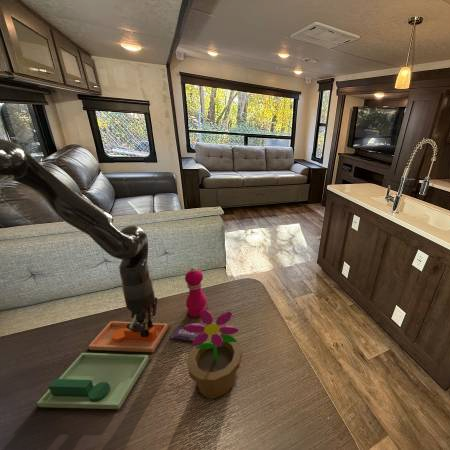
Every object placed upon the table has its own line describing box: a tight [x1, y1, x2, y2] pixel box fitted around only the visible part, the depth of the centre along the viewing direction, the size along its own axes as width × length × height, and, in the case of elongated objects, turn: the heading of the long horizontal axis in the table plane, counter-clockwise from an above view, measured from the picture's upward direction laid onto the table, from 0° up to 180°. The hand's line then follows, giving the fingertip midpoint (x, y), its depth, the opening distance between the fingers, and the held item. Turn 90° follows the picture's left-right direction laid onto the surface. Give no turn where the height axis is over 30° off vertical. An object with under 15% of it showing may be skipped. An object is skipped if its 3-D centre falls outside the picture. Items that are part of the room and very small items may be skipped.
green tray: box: [36, 352, 150, 410], centre depth 68 cm, size 19×14×2 cm
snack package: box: [170, 326, 205, 342], centre depth 84 cm, size 12×2×5 cm
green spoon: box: [48, 378, 110, 402], centre depth 64 cm, size 13×4×4 cm, turn 92°
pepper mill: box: [184, 266, 207, 318], centre depth 92 cm, size 7×7×20 cm
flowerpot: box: [183, 308, 243, 399], centre depth 66 cm, size 14×14×30 cm
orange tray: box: [87, 320, 169, 353], centre depth 81 cm, size 19×10×2 cm, turn 92°
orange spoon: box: [112, 327, 157, 342], centre depth 81 cm, size 13×4×4 cm, turn 92°
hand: (147, 333), depth 81 cm, fingers closed on orange spoon, 2 cm apart
